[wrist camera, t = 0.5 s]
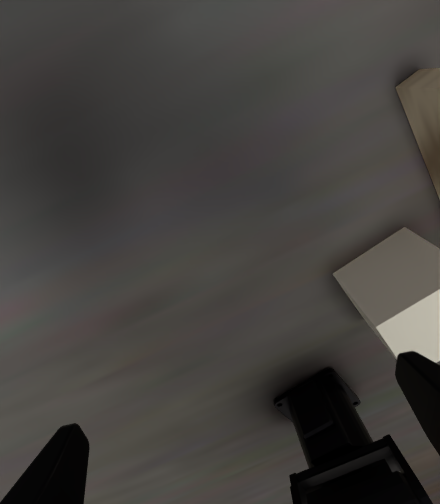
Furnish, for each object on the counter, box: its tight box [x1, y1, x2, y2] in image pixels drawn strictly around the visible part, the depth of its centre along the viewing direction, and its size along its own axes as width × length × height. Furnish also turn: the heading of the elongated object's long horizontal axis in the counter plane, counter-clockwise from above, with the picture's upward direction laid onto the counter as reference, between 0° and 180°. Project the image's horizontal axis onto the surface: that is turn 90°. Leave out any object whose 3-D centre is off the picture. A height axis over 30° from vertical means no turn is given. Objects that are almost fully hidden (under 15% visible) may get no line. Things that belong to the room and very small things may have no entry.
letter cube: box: [333, 227, 440, 363], centre depth 22 cm, size 6×6×6 cm
